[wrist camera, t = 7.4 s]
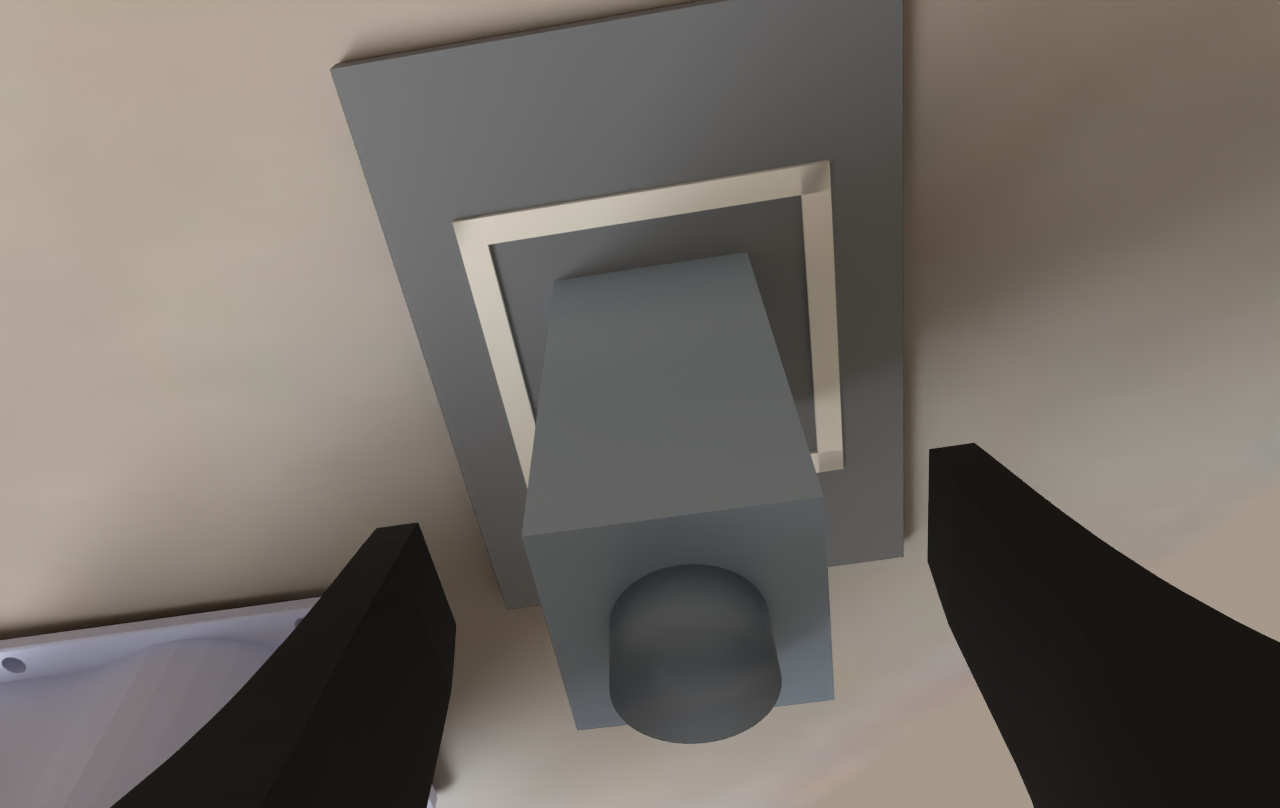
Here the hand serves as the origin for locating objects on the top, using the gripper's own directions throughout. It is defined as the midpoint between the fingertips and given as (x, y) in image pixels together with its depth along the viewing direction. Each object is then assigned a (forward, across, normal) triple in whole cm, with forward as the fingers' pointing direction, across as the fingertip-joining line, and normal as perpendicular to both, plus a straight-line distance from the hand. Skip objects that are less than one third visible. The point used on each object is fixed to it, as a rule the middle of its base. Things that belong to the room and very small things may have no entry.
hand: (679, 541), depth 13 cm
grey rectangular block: (+5, 0, 0) cm, 5 cm away
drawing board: (+6, 0, 0) cm, 6 cm away
